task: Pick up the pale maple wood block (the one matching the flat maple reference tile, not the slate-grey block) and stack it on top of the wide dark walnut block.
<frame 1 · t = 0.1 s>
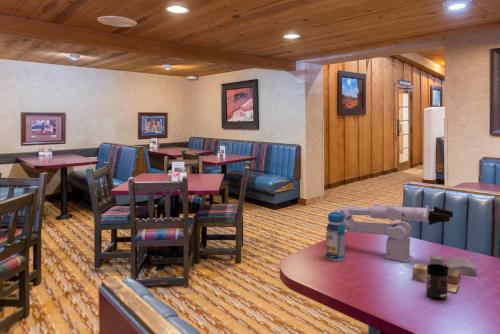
hand: (451, 216, 155), 22 cm above the table, tool horizontal, fingers open, 7 cm apart
supplement container: (436, 296, 133), on the table
reference tile: (447, 288, 139), on the table
slate block: (435, 268, 157), on the table
stone block: (458, 270, 155), on the table
walnut block: (448, 280, 146), on the table
beverage bottle: (335, 258, 171), on the table
maple block: (419, 279, 147), on the table
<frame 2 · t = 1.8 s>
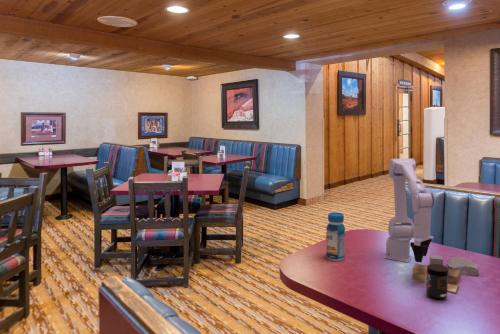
hand: (420, 258, 146), 8 cm above the table, tool pointing down, fingers open, 7 cm apart
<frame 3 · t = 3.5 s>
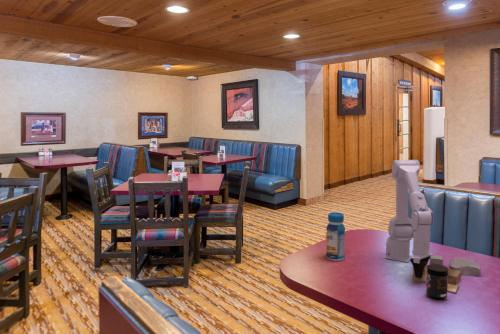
hand: (420, 275, 147), 1 cm above the table, tool pointing down, fingers closed on maple block, 4 cm apart
maple block: (419, 278, 147), on the table, touching gripper
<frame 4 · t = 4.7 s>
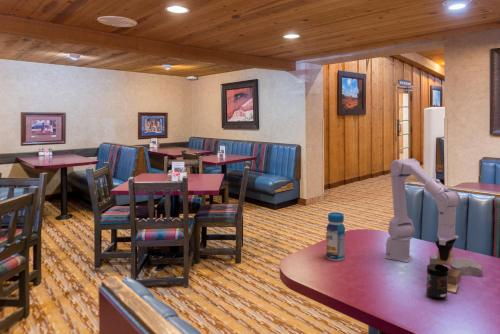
hand: (445, 258, 145), 8 cm above the table, tool pointing down, fingers closed on maple block, 4 cm apart
maple block: (444, 262, 145), point 7 cm above the table, touching gripper
when the fingers open (6 cm above the table, at t = 6.1 s): maple block drops 1 cm, resting on walnut block.
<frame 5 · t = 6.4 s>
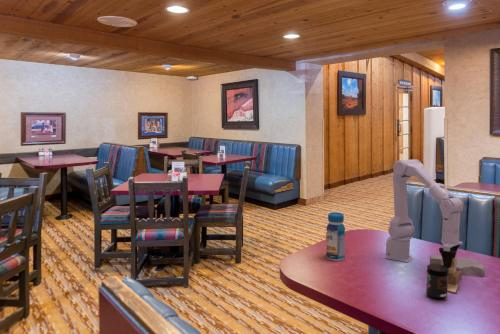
hand: (449, 264, 145), 6 cm above the table, tool pointing down, fingers open, 7 cm apart
walnut block: (448, 280, 146), on the table, touching maple block
maple block: (448, 271, 146), point 3 cm above the table, touching walnut block
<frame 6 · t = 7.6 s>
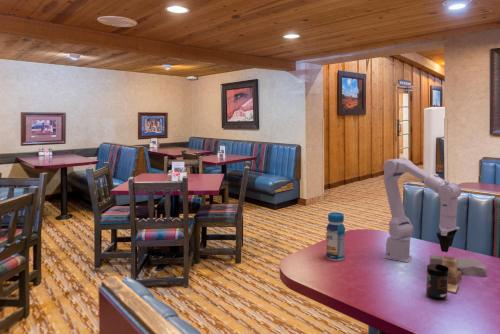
hand: (446, 248, 150), 10 cm above the table, tool pointing down, fingers open, 7 cm apart
walnut block: (448, 280, 146), on the table
maple block: (449, 271, 145), point 3 cm above the table
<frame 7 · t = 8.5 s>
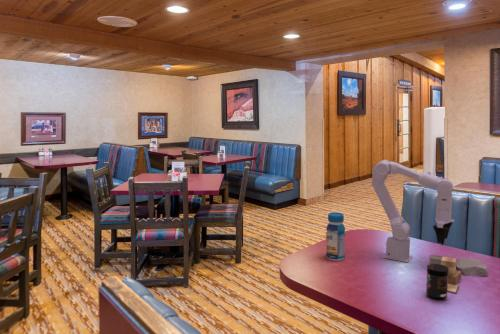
hand: (442, 240, 160), 10 cm above the table, tool pointing down, fingers open, 7 cm apart
walnut block: (448, 280, 146), on the table, touching maple block
maple block: (448, 272, 145), point 3 cm above the table, touching walnut block
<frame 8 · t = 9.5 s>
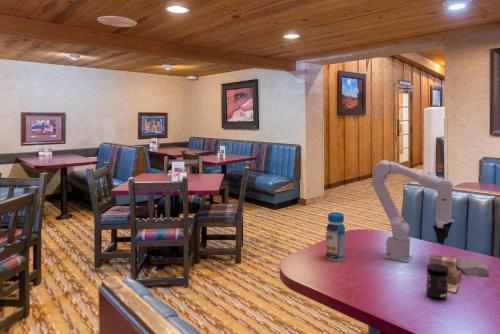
hand: (442, 240, 160), 10 cm above the table, tool pointing down, fingers open, 7 cm apart
at the end: maple block 0.0 cm off-centre on the walnut block, point 3.5 cm above the walnut block's base; maple block tilted 0°; the gripper is holding nothing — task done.
